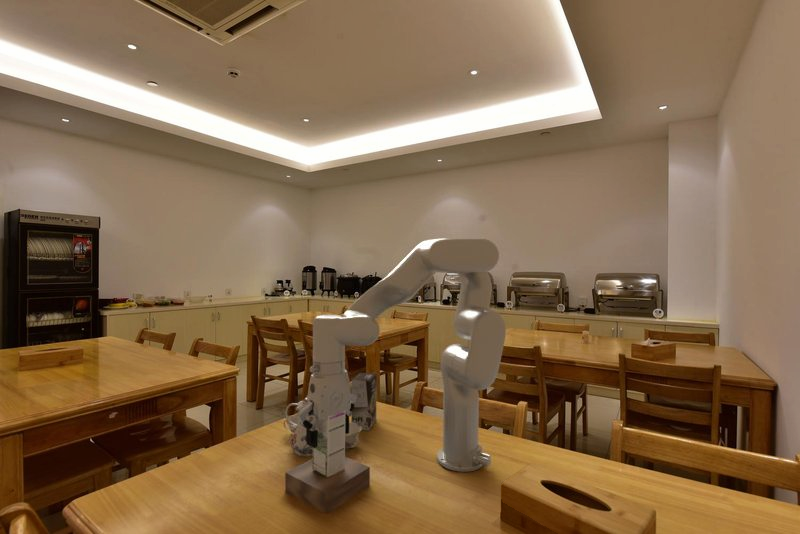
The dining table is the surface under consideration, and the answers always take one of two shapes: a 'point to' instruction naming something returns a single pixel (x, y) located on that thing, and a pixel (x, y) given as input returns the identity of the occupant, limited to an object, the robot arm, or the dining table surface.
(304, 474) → the walnut block
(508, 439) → the dining table surface
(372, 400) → the coffee box
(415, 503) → the dining table surface
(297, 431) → the chinaware
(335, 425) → the syrup box
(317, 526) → the dining table surface
